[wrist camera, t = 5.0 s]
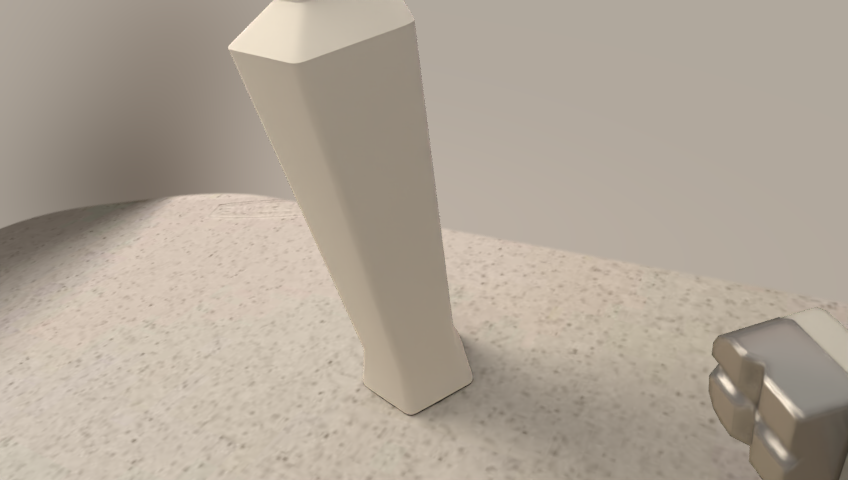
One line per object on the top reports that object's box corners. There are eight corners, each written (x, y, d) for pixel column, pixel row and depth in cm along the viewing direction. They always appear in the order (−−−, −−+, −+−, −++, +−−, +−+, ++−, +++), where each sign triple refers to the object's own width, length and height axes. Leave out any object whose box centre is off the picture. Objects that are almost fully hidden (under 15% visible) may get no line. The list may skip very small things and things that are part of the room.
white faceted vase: (455, 438, 20) (325, -86, 11) (338, 404, 22) (150, -66, 13) (505, 335, 23) (434, -140, 15) (399, 313, 25) (279, -116, 16)
